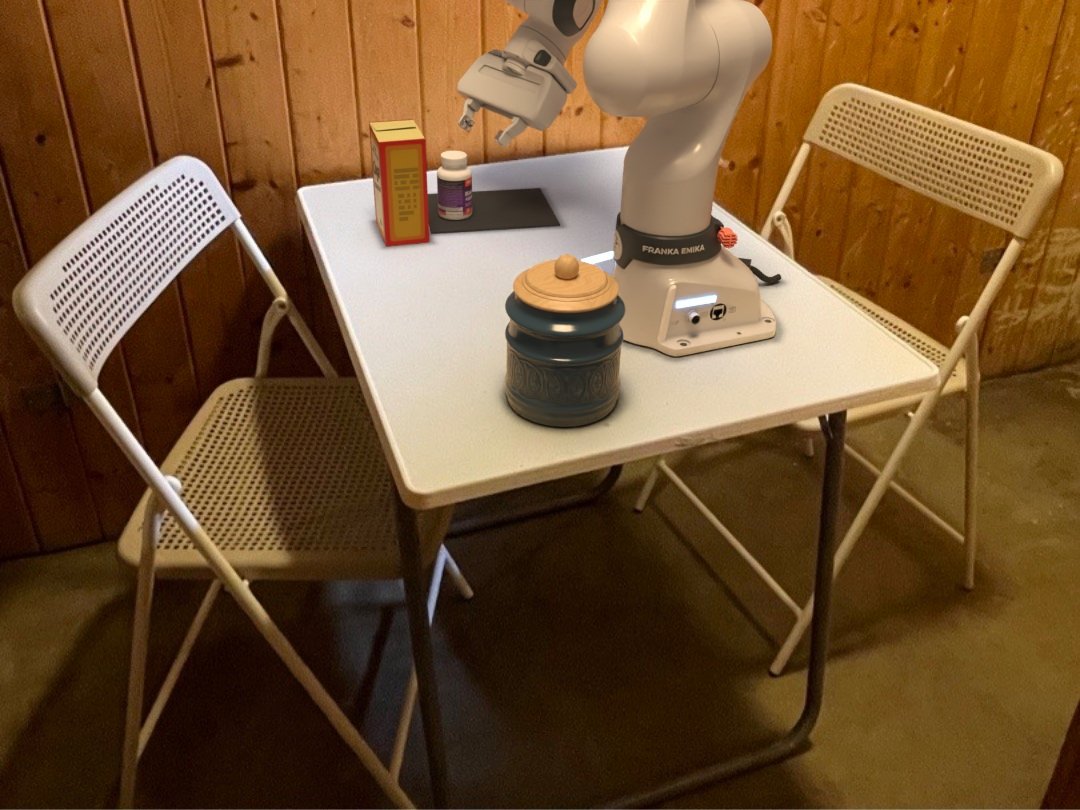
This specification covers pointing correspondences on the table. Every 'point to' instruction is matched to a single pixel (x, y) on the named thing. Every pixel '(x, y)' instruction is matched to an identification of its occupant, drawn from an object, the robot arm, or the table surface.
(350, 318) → the table surface
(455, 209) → the pill bottle
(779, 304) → the table surface
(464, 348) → the table surface
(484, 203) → the rubber mat
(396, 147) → the baking soda box
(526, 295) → the canister
